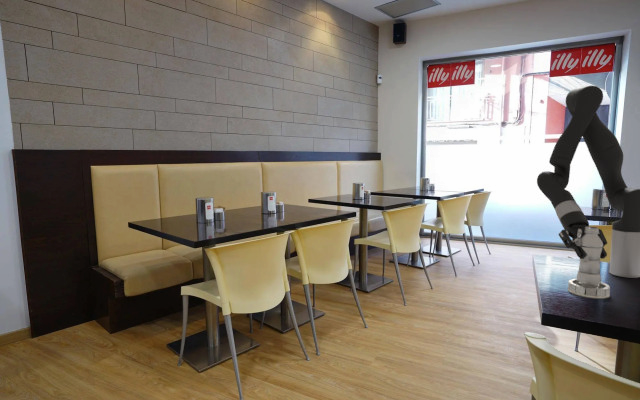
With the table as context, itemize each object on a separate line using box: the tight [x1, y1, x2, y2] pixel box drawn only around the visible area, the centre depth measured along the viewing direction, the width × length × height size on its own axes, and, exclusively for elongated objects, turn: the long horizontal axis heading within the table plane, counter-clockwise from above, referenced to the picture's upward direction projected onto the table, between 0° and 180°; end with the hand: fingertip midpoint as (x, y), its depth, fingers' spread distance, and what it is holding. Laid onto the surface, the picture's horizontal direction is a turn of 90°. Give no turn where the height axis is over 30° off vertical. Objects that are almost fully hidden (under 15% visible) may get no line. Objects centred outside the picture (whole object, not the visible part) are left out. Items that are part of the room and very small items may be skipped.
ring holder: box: [567, 278, 611, 300], centre depth 125 cm, size 11×11×3 cm
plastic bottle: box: [576, 226, 604, 287], centre depth 124 cm, size 6×7×20 cm
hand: (593, 257), depth 123 cm, fingers closed on plastic bottle, 6 cm apart
